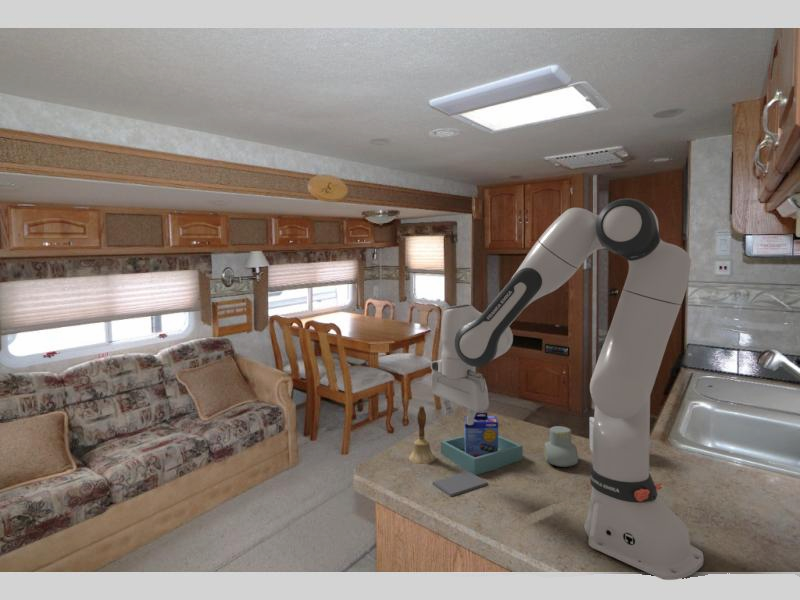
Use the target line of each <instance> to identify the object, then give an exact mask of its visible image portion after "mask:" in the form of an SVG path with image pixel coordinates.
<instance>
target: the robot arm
mask: <svg viewBox="0 0 800 600" xmlns="http://www.w3.org/2000/svg"><path fill="white" fill-rule="evenodd" d="M602 249H603V250H607V251H610V252H612V253H613V254H616V255H618V256H620V257H621V258H623V259H625V260H626V261H627V262H628V272H627V276H626V279H625V282H624V285H623V288H622V291H621V294H620V297H619V299H618V303H617V305H616V308H615V311H614V314H613V318H612V320H611V323H610V325H609V329H608V332H607V334H606V337H605V340H604V342H603V345H602V348H601V351H600V353H599V356H598V358H597V362H596V365H595V367H594V369H593V373H592V376H591V378H590V383H589V392H590V396H591V399H592V401H593V403H594V413H593V417H594V425H593V452H592V465H591V466H590V473H589V474H590V476H589V479H590V481H589V482H590V485H591V494H590V501H589V509H588V512H587V517H586V520H585V523H584V525H583V526H584V532H585V533H586V535H587V537H588V541H587V542H588V546H589V548H592V549H594V550H596V551H599V552H601V553H603V554H605V555H607V556H610V557H611V558H614V559H616V560H619V561H621V562H623V563H625V564H627V565H630V566H632V567H634V568H636V569H638V570H641V571H643V572H645V573H647V574H649V575H651V576H654V577H656V578H658V579H661V580H665V581H672V580H673V581H674V580H675V581H676V580H680V579H684V578H687V577H688V576H691V575H693V574H694V573H696V572H698V571H699V570H700V568H702V567H703V565H704V553H703V552H702V550H700V549H698V548H697V547H696V546H695V545H694V546H693V545H692V544H691V541H690V535H689V531H688V528H687V525H686V524H685V523H684V521H682V519H680V518H679V517H678V516H677V514H676V513H674V511H673V510H672V509H671V508H670V507H669V506H668V505H667V504H666V503H665V502H664V500H662V499H661V498H660V497H659V496H658V491H659V490H661V489H663V486H662V485H663V483H661V482H660V483H657V484H655V482H654V480H653V477H652V475H651V474H650V442H651V441H650V436H651V435H650V433H651V429H650V428H651V427H650V425H651V424H650V422H651V394H652V391H653V388H654V385H655V383H656V379H657V376H658V373H659V370H660V367H661V365H662V361H663V357H664V355H665V352H666V349H667V345H668V342H669V339H670V336H671V334H672V331H673V328H674V326H675V324H676V323H675V322H676V320H677V318H678V314H679V312H680V309H681V307H682V304H683V301H684V297H685V294H686V293H687V292H686V291H687V287H688V283H689V277H690V272H691V261H692V260H691V257H690V255H689V253H688V252H687V251H686V250H685V249H683V248H682V247H680V246H678V245H676V244H673V243H669V242H666V241H664V240H662V239H661V237H660V226H659V219H658V216H657V215H656V213H655V211H654V210H652V208H651V207H650V206H648V205H647V204H646V203H645V202H643V201H641V200H639V199H635V198H630V197H628V198H627V197H626V198H619V199H616V200H613V201H611V202H610V203H608V204H606V206H604V207H603V208H602V210H601V211H600V212H599V214H595V213H593V212H592V211H590V210H588V209H585V208H582V207H571V208H568V209H566V210H565V211H564V212H563V213H561V214H560V215H559V216H558V217H557V218H556V219H555V220H554V221H553V222H552V223H551V224H550V225H549V226H548V227H547V228H546V229H545V231H543V233H542V234H541V235H540V237H539V238H538V240H536V242H535V243H534V244H533V246H532V247H531V249H530V250H529V251H528V253H527V254H526V256H525V258H524V260H522V262H521V263H520V265H519V267H518V268H517V270H516V272H515V273H513V276H512V277H511V278H510V280H509V281H508V283H506V285H505V286H504V288H503V289H502V290H501V291H500V292H499V293H498V294H497V296H496V297H495V298H494V299H493V300H492V301H491V303H490V304H489V305H488V306H487V307H486V309H485V310H483V312H480V311H479V310H477V309H476V308H475V307H474V306H473V305H472V304H461V305H456V306H451V307H447V308H446V309H444V311H443V313H442V316H441V327H440V339H441V340H440V341H441V344H442V349H441V355H440V357H441V358H440V359H438V360H434V361H431V362H430V365H429V366H430V369H431V373H430V381H431V382H430V387H431V391H432V394H433V396H434V395H435V396H437V397H439V398H441V404H442V406H443V409H444V414H445V416H449V417H451V416H453V415H454V408H453V407H452V405H451V403H453V404H456V405H458V406H461V407H463V408H466V412H467V415H466V416H467V417H465V424H467V425H473V423H474V417H475V415H476V413H481V412H484V411H487V410H488V409H489V405H490V404H489V403H490V399H489V389H488V385H487V382H486V379H485V377H483V374H482V373H480V372H476V368H480V367H483V366H486V365H488V364H489V363H490V362H491V361H493V360H495V359H497V358H499V357H500V356H502V355H504V354H506V353H507V352H508V351H509V350H510V349H511V348H512V346H513V343H514V334H513V330H512V328H511V324H512V323H513V322H514V321H515V320H516V319H517V318H518V316H519V315H520V314H521V313H522V312H523V310H525V309H526V308H527V307H528V306H529V305H530V304H532V303H533V302H535V301H537V300H538V299H540V298H542V297H544V296H546V295H549V294H551V293H553V292H555V291H556V290H558V289H559V288H560V287H561V286H563V285H565V283H566V282H568V280H570V279H571V278H572V277H573V276H574V275H575V273H576V272H577V271H578V270H579V269H580V268H581V266H582V265H583V264H584V263H585V261H586V260H587V259H588V258H589V257H590V256H591V255H592V254H593V253H595V252H597V251H598V250H602Z"/></svg>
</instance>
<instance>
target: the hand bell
mask: <svg viewBox="0 0 800 600" xmlns="http://www.w3.org/2000/svg"><path fill="white" fill-rule="evenodd" d="M426 423H427V414H426V410H425V407H424V406H419V408H418V412H417V424H418V427H419V429H418V439H416V440H415V441H414V444H413V449H412V452H411V454H410V455H409V456H408V459H409V461H410V462H412V463H414V464H419V465H427V464H430V463H433V462H434V461H435V460H436V455H435V454H433V452H432V450H431V446H430V441H429V440H427V439H426V438H425V435H426V433H425V426H426Z"/></svg>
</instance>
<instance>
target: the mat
mask: <svg viewBox="0 0 800 600" xmlns="http://www.w3.org/2000/svg"><path fill="white" fill-rule="evenodd" d="M488 484H489V483H488V481H486V480H485V479H483V478H482V477H479V476H478V475H474V474H473V473H471V472H469V471H464V472H460V473H457V474H455V475H451V476H447V477H445V478H441V479H437V480H434V481H432V485H433V486H435V487H436V488H437V489H439V490H441V492H443V493H444V494H446V495H447V496H449V497H455V496H456V495H461V494H463V493H466V492H469V491H471V490H474V489H479V488H482V487H484V486H487V485H488Z"/></svg>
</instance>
